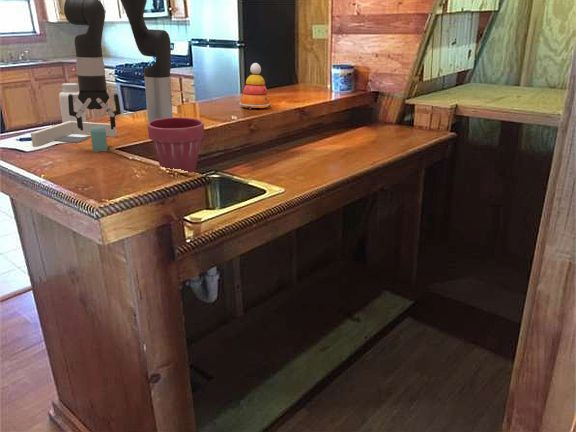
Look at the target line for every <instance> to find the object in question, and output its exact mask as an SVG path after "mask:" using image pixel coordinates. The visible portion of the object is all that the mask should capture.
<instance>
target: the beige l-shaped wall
mask: <svg viewBox="0 0 576 432" xmlns="http://www.w3.org/2000/svg"><path fill="white" fill-rule="evenodd" d="M91 127H105V130H106V137H109V138H111V137H112V138H116V137H117V136H118V131H117V125H116V126H115V127H113V129H111V123H105V122H104V123H103V122H90V121H89V122H88V121H86V122H83V130H82V131H81V130H80V129H79V128H78V126H77V121H68V122H64V123H63V122H61V123H59V124H56V125H52V126H49V127H46V128H42V129H39V130H36V131H33V132H30V138H31V144H32V147H39V145H40V146H42V144H43V145H45V144H48V143H50V142H55V141H54V140H56V139H59V138H61V137H64V136H71V135H72V134H73V135H81V136H82V135H83V136H84V135H85V136H86V135H87V136H91Z"/></svg>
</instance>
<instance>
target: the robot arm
mask: <svg viewBox="0 0 576 432" xmlns="http://www.w3.org/2000/svg"><path fill="white" fill-rule="evenodd" d="M120 2H121V4H122V7H123V9H124V11H125V14H126V17H127V20H128V22H129V26H130V28H131V32H132V36H133V38H134V41H135V42H134V43H135V45H136V48H137V50H138V52H139V53H140V54H141V55H143V56H144V57H152V58H153V57H154V58H155V62H154V63H153V64H151V65H150V66H146V67H145V68H144V69H143V75H144V76H143V77H144V87H145V101H146V102H145V103H146V117H147V124H148V123H149V122H150V121H153V120H156V119H162V118H172V117H174V115H173V101H172V97H173V96H172V85H171V70H172V69H171V68H172V61H171V60H172V58H171V57H172V54H171V53H172V52H171V51H172V46H171V44H172V43H171V37H170V34H169V33H168V31H166V30H165V29H153V28H152V29H149V28H148V27H147V25H146V23H145V22H146V21H145V18H144V13H145V9H146V5H147V3H148V0H120ZM63 14H64V17H65V19H66V20H67V22H68V23H70V24H71V25H75V26H88V28H87V31H86V33H82V34H78V35H76V36H75V37H74V48H75V49H74V50H75V56H76V57H75V59H76V61H75V64H76V65H75V66H76V74H77V84H78V91H79V95H72V94H69V95H68V104H69V115H70V116H74V117H76V118H77V126H78V128H79V129H80V130H81V131H82V130H83V122H82V117H81V115H82V114H83V112H84V111H85V112H86V109H88V110H91V111H92V110H101V109H103V110H104V111H105V112H107V114H108V115H109V119H110V122H109V124H111V129H113V127H115V126H116V127H117V123H116V116H118V115H119V116H120V115H121V114H122V113H121V106H120V99H119V93H116V92H115V93H113V94H112V93H111V94H109V93H108V90H107V81H106V80H107V79H106V68H105V63H104V58H103V48H102V47H103V46H102V41H103V40H102V39H103V31H104V25H105V20H106V9H105V7H104V5H103V2H101V1H100V0H65V1H64V5H63ZM76 99H79V100H80V101H81V102H82V104H83V105H82V106H81V108H80V109H79V111H78V112H75V111H74V103H73V102H76ZM109 100H111V102H113V103H114V104H115V110H112V108H111V107H110V106H109V105H108V104H107V102H108V101H109Z"/></svg>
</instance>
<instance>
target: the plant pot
mask: <svg viewBox="0 0 576 432" xmlns="http://www.w3.org/2000/svg"><path fill="white" fill-rule="evenodd" d="M204 126H205V125H204V121H203V120H201V119H199V118H192V117H184V116H183V117H180V116H179V117H177V116H176V117H174V116H173V117H172V118H162V119H156V120H153V121H150V122H149V123H148V122H147V134H148V135H147V137H148V139H149V140H151V141H152V143H153V147H154V150H155V151H154V152H155V155H156V157H157V160H158V164H159V166H162V167H165V168H170V169H173V168H174V169H181V170H184V171H188V172H190V173H193V172H195V171H196V169H197V163H198V160H199V154H200V148H201V140H202V139H203V138H204V137H205V127H204Z"/></svg>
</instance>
